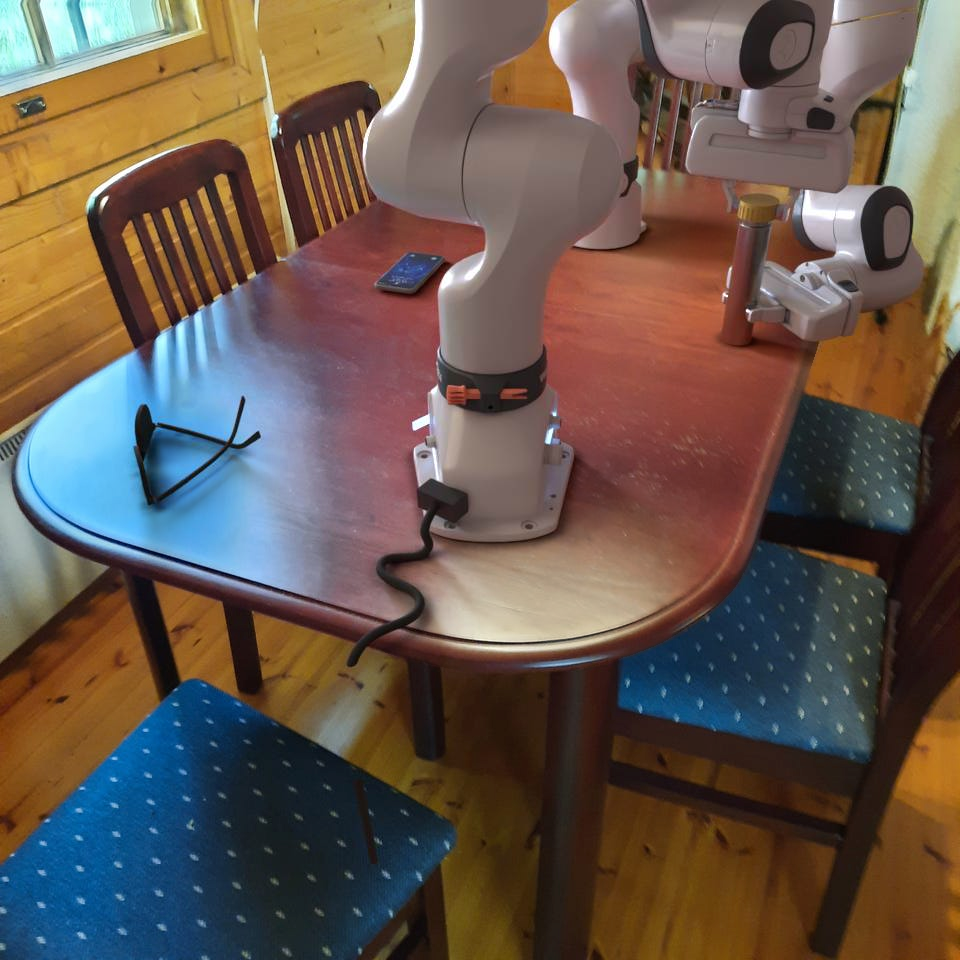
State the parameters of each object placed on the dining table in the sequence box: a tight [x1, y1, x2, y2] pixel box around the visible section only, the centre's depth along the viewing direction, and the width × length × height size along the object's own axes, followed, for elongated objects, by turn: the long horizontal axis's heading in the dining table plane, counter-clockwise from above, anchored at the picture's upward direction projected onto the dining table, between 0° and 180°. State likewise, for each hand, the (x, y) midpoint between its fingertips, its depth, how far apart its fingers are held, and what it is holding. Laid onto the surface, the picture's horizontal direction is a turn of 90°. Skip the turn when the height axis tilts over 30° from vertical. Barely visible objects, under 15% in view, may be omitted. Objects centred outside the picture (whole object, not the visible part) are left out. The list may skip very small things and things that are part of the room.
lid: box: [736, 192, 781, 223], centre depth 112 cm, size 5×5×2 cm
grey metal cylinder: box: [720, 218, 773, 347], centre depth 117 cm, size 4×4×19 cm
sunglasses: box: [132, 395, 262, 506], centre depth 100 cm, size 17×14×5 cm
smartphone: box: [373, 251, 446, 295], centre depth 143 cm, size 7×1×15 cm
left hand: (757, 216), depth 112 cm, fingers closed on lid, 5 cm apart
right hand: (736, 307), depth 120 cm, fingers closed on grey metal cylinder, 4 cm apart
